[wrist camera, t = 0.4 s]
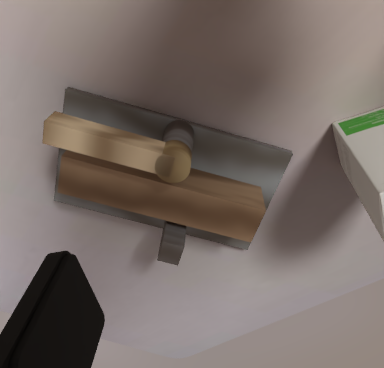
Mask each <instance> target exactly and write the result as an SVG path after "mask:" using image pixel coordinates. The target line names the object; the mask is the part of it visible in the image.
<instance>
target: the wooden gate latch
mask: <svg viewBox="0 0 384 368" xmlns="http://www.w3.org/2000/svg"><path fill="white" fill-rule="evenodd" d="M63 114H67V115H70V116H74V117H77V118H81V119H85V120H88V121H92V122H95V123H99V124H102V125H106V126H110V127H113V128H117V129H120V130H124V131H127V132H131V133H135V134H138V135H142V136H145V137H149V138H152V139H156V140H160V141H163V142H167V141H170V140H179V141H182V142H184V143H185V144H186V145H187V146H188V147H189V148H190V150H191V153H192V159H191V168H190V173H189V175H188V177H187V178H186V179H185V180H183V181H181V182H178V183H169V182H166V181H164V180H162V179H161V178H160V177H159V176H158V175H157V174H155V173H151V172H147V171H143V170H140V169H136V168H132V167H129V166H125V165H121V164H118V163H114V162H110V161H106V160H103V159H99V158H95V157H92V156H88V155H84V154H81V153H77V152H73V151H70V150H66V149H62V148H59V156H58V166H57V176H56V185H55V195H54V201H58V202H62V203H66V204H70V205H74V206H78V207H82V208H86V209H89V210H93V211H97V212H101V213H105V214H109V215H113V216H117V217H121V218H125V219H128V220H132V221H136V222H140V223H144V224H148V225H152V226H156V227H160V228H163V233H162V238H161V243H160V248H159V254H158V259H157V260H158V261H162V262H166V263H170V264H174V265H178V263H179V261H180V258H181V255H182V252H183V249H184V244H185V235H186V234H187V235H191V236H195V237H199V238H203V239H207V240H210V241H214V242H218V243H222V244H226V245H230V246H234V247H238V248H242V249H246V250H248V247H249V245H250V243H251V241H252V239H253V237H254V235H255V233H256V231H257V229H258V227H259V224H260V222H261V220H262V218H263V216H264V214H265V212H266V210H267V208H268V205H269V203H270V201H271V199H272V197H273V195H274V193H275V191H276V189H277V187H278V184H279V182H280V180H281V178H282V176H283V174H284V172H285V170H286V168H287V166H288V164H289V161H290V159H291V157H292V155H293V154H292V151H290V150H286V149H283V148H279V147H276V146H272V145H269V144H265V143H262V142H258V141H255V140H251V139H248V138H244V137H241V136H237V135H234V134H230V133H227V132H224V131H220V130H217V129H213V128H210V127H206V126H203V125H199V124H196V123H192V122H189V121H185V120H182V119H178V118H175V117H171V116H168V115H164V114H161V113H157V112H154V111H150V110H147V109H143V108H140V107H136V106H133V105H129V104H126V103H123V102H119V101H116V100H112V99H109V98H105V97H102V96H98V95H95V94H91V93H88V92H84V91H81V90H77V89H74V88H70V87H68V88H67V89H65V98H64V108H63Z"/></svg>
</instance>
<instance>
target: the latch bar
mask: <svg viewBox="0 0 384 368" xmlns="http://www.w3.org/2000/svg"><path fill="white" fill-rule="evenodd" d="M43 143H44V144H47V145H51V146H55V147H58V148H62V149H66V150H70V151H73V152H77V153H81V154H84V155H88V156H92V157H95V158H99V159H103V160H106V161H110V162H114V163H118V164H121V165H125V166H129V167H132V168H136V169H140V170H143V171H147V172H151V173H155V174H157V175H158V176H159V177H160V178H161V179H162V180H164V181H166V182H169V183H178V182H181V181H183V180H185V179H186V178H187V177H188V175H189V173H190V168H191V159H192V153H191V150H190V148H189V147H188V146H187V145H186V144H185V143H184V142H182V141H179V140H170V141H167V142H163V141H160V140H156V139H152V138H149V137H145V136H142V135H138V134H135V133H131V132H127V131H124V130H120V129H117V128H113V127H110V126H106V125H102V124H99V123H95V122H92V121H88V120H85V119H81V118H77V117H74V116H70V115H67V114H63V113H59V112H56V111H55V112H54V113H53V114H52V115H50V116H49V117H48V118H47V119H46V120H45V121H44V130H43Z"/></svg>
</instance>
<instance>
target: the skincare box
mask: <svg viewBox="0 0 384 368" xmlns="http://www.w3.org/2000/svg"><path fill="white" fill-rule="evenodd" d="M332 126H333V132H334V137H335V141H336V146H337V150H338V155H339V159H340V164H341V166H342V168H343V170H344V172H345V174H346V176H347V177H348V179H349V181H350V183H351V184H352V186H353V188H354V190H355V191H356V193H357V195H358V197H359V199H360V200H361V202H362V204H363V206H364V208H365V209H366V211H367V213H368V214H369V216H370V218H371V220H372V222H373V223H374V225H375V227H376V229H377V230H378V232H379V234H380V236H381V238H382V240H383V241H384V107H381V108H378V109H375V110H372V111H368V112H365V113H362V114H359V115H356V116H353V117H350V118H346V119H343V120H340V121H336V122H334V123H332Z"/></svg>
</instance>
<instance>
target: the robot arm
mask: <svg viewBox="0 0 384 368" xmlns="http://www.w3.org/2000/svg"><path fill="white" fill-rule="evenodd" d="M104 321H105V319H104V313H103V311H102V309H101V307H100V305H99V303H98V301H97V299H96V297H95V294H94V292H93V290H92V288H91V286H90V284H89V282H88V280H87V278H86V276H85V274H84V272H83V270H82V268H81V266H80V264H79V262H78V259H77V258H76V256H75V255H73V254H70V252H68V251H61V252H55V253H50V254H48V255H47V256H46V258H45V259H44V261H43V263H42V264H41V266H40V268H39V269H38V271H37V273H36V274H35V276H34V278H33V280H32V281H31V283H30V285H29V286H28V288H27V290H26V291H25V293H24V295H23V297H22V298H21V300H20V302H19V303H18V305H17V307H16V308H15V310H14V312H13V314H12V316H11V317H10V319H9V320H8V322H7V324H6V326H5V327H4V329H3V331H2V332H1V334H0V368H91V366H92V362H93V359H94V356H95V353H96V350H97V346H98V343H99V340H100V336H101V333H102V330H103V327H104Z"/></svg>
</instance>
